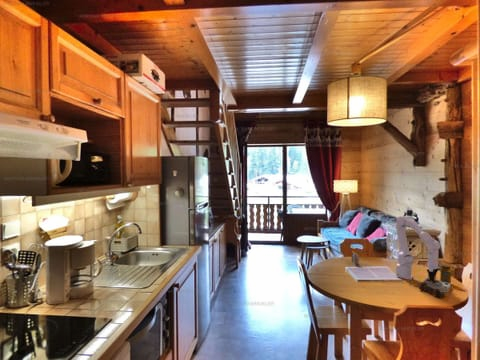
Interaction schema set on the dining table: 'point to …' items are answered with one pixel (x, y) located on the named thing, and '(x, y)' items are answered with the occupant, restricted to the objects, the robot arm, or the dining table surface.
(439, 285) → the button control panel
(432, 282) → the orange short cylinder
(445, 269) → the yellow metal cylinder
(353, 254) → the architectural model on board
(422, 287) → the bolt
